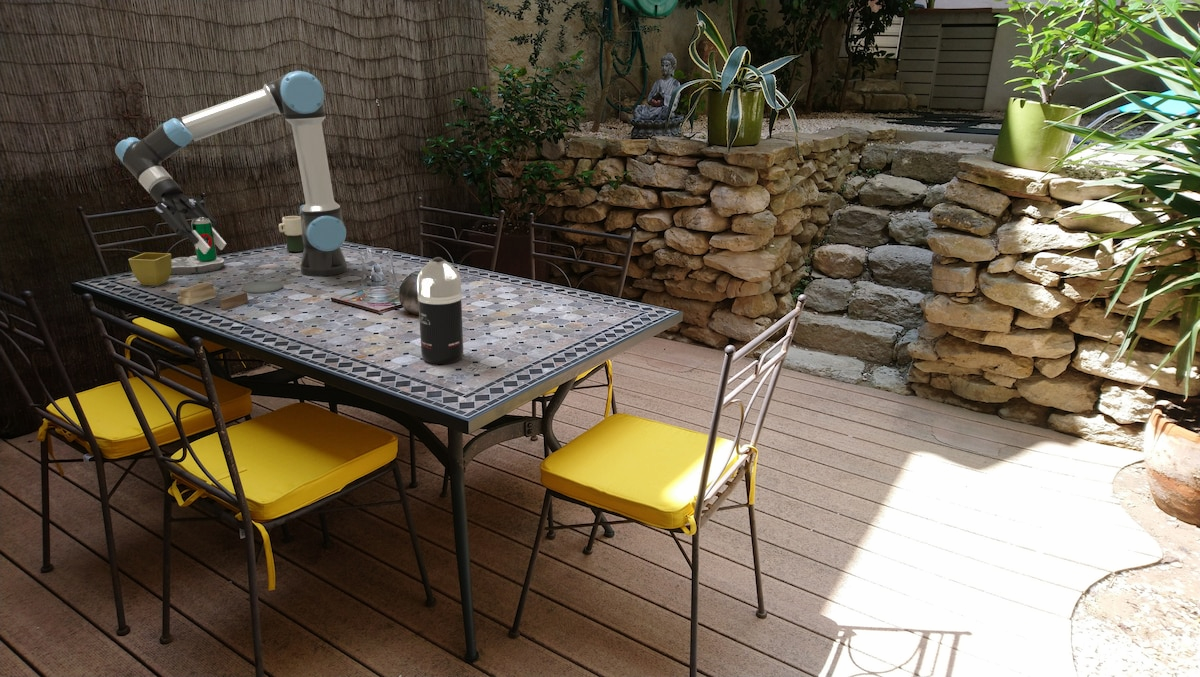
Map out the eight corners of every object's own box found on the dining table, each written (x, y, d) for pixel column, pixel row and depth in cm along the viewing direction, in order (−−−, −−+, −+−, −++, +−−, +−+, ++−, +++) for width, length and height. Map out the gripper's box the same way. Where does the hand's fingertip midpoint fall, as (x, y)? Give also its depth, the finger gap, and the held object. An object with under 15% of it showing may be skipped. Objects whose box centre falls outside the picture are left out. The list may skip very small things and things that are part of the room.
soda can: (221, 259, 212) (214, 218, 208) (207, 263, 208) (200, 221, 204) (207, 257, 214) (200, 216, 210) (193, 261, 210) (186, 219, 205)
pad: (287, 282, 237) (287, 280, 237) (278, 292, 226) (278, 291, 226) (247, 283, 235) (247, 281, 235) (237, 293, 224) (236, 291, 224)
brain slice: (219, 261, 263) (218, 253, 262) (228, 271, 250) (227, 263, 249) (156, 268, 252) (155, 259, 251) (163, 279, 239) (161, 270, 238)
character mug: (305, 247, 285) (301, 214, 281) (314, 251, 280) (310, 217, 276) (277, 251, 278) (273, 217, 273) (286, 255, 273) (282, 220, 269)
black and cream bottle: (438, 369, 171) (432, 264, 163) (412, 358, 177) (406, 256, 169) (473, 358, 178) (469, 257, 170) (447, 347, 184) (442, 250, 176)
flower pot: (160, 288, 228) (155, 259, 225) (132, 287, 228) (127, 258, 225) (176, 280, 236) (171, 253, 233) (149, 279, 237) (144, 252, 234)
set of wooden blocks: (177, 303, 213) (175, 290, 212) (205, 294, 222) (203, 282, 221) (222, 310, 208) (220, 297, 207) (249, 301, 217) (247, 288, 216)
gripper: (182, 191, 218) (234, 250, 218) (127, 199, 202) (183, 264, 202) (193, 174, 214) (245, 234, 215) (137, 181, 198) (194, 246, 199)
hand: (215, 248), depth 209 cm, fingers closed on soda can, 5 cm apart
